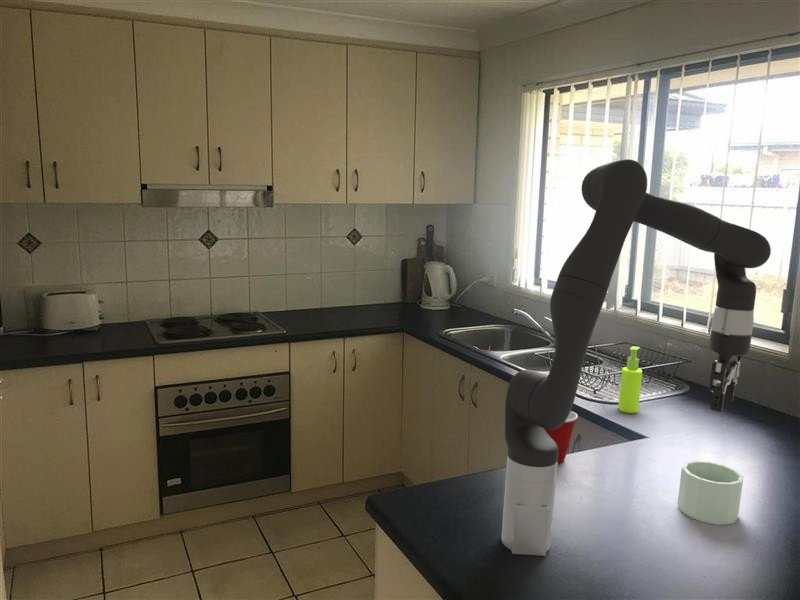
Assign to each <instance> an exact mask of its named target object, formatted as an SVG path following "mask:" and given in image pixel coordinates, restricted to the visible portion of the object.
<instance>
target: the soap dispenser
mask: <svg viewBox="0 0 800 600" xmlns="http://www.w3.org/2000/svg"><path fill="white" fill-rule="evenodd" d="M640 349H641V347H640V346H635V345H633V346H631V347H630V348H629V351H630V356H629V357H627V358H626V359H627V362H626V366H624V367H622V369H621V377H620V379H621V380H620V389H619V396H618V397H619V398H618V408H617V409H618V410H619V411H620V412H622V413H626V414H637V413H639V408H640V407H639V406H640V396H641V389H642V388H641V386H642V379H643V369H641V368H639V363H640V359H639V358H638V357H637V356H638V354H637V353H638V351H639V350H640Z"/></svg>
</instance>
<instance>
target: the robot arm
mask: <svg viewBox="0 0 800 600" xmlns="http://www.w3.org/2000/svg"><path fill="white" fill-rule="evenodd" d="M647 189H648V175H647V172H646V170H645V168H644V166H643V165H642V164H641V163H639V162H638V161H637V160H634V159H630V158H629V159H628V158H627V159H619V160H615V161H611V162H608V163H605V164H602V165H599V166H597V167H595V168H593V169H592V170H590V171H588V173H587V174H586V175H585V176H584V179H582V183H581V195H582V198H583V200H584V202H585V203H586V204H587V206H588V207H590V208H591V209H592V210H594V211H595V213H594V216H593V219H592V221H591V222H590V226H589V227H588V229H587V230H586V232H585V234H584V235H583V237H582V238H581V239H580V240H579V242H578V243H577V244H576V246H575V247H574V249H573V250H572V252H571V253H570V254H569V255H568V257H567V258H566V260H565V262H564V263H563V264H562V267H561V269H560V270H559V273H558V275H557V279H556V282H555V284H554V287H553V290H552V293H551V297H550V301H549V308H550V309H549V310H550V317H551V323H552V329H553V333H554V343H555V345H554V346H555V347H554V355H553V359H552V364H551V367H550V369H549V372H548V374H545V373H542V372H539V371H536V370H532V369H523V370H519V371H518V372H517V373H515V375H513V377H511V380H510V381H509V383H508V385H507V390H506V395H505V401H504V402H505V405H504V407H505V409H504V441H505V443H506V447H507V454H506V455H507V456H506V457H507V459H506V468H505V469H506V470H505V471H506V472H505V484H504V497H503V499H504V500H503V509H502V510H503V512H502V527H501V536H500V537H501V538H500V540H501V543H502V545H504V547H506V548H507V549H509V550H510V551H511V554H512V555H525V556H540V557H541V556H542V557H546V556H547V552H548V551H549V550H550V548H551V545H552V544H551V543H552V531H553V520H554V509H555V508H554V506H555V496H556V484H557V474H558V471H557V470H558V464H559V463H558V446H557V444H556V442H555V441H554V440H553V439H552V438H551V437H550V436H549V435H548V434H547V433H546V431H545V430H544V428H545V429H549V430H554V429H557V428H559V427H560V426H562V424H563V423H564V422H565V421H566V419H567V417H568V416H569V414H570V411H572V409H573V405H574V402H575V398H576V395H577V391H578V387H579V384H580V383H579V382H580V380H581V379H580V377H581V374H582V369H583V366H584V361H585V358H586V356H587V355H586V354H587V352H588V349H589V346H590V345H589V344H590V342H591V338H592V335H593V332H594V330H595V326H596V323H597V321H598V319H599V316H600V313H601V311H602V309H603V305H604V303H605V300H606V296H607V294H608V290H609V288H610V284H611V281H612V277H613V275H614V271H615V270H616V267H617V264H618V262H619V259H620V256H621V252H622V250H623V247H624V244H625V241H626V239H627V237H628V234H629V231H630V230H631V228H632V225H633V224H634V222H635V223H637V224H641V225H644V226H646V227H649V228H651V229H653V230H657V231H659V232H661V233H664V234H665V235H668V236H670V237H672V238H675V239H677V240H679V241H681V242H683V243H685V244H687V245H689V246H692V247H694V248H696V249H697V250H701V251H703V252H707V253H712V254H713V255H714V257H713V259H714V268H715V276H716V281H717V282H716V283H717V286H718V287H717V291H716V292H717V293H716V299H715V306H714V311H713V315H712V320H711V329H710V336H709V345H708V349H709V351H711V352H714V353H717V354H718V356H717V360H713V361H712V363H711V371H710V378H709V384H708V385H709V386H708V391H710V392H711V400H710V405H709V406H710V407H709V408H710V409H709V410H712V411H715V412H720V413H721V412H722V411H723V409H724V402H726V403H732V402H734V396H735V390H736V389H735V388H736V385H737V384H738V381H739V379H740V376H741V375H740V374H741V368H742V367H741V366H742V359H743V357H744V356H745V357H746V356H747V355H749V354H750V350H751V344H752V336H753V328H754V320H755V319H754V316H755V315H754V312H755V311H754V310H755V305H756V303H755V302H756V295H757V285H756V283H755V282H754V281H752V280H751V279H749V278H748V277H747V275H746V274H747V273H746V269H756V268H759V267H761V266H763V265H764V264H766V262H768V260H769V259H770V256H771V253H772V249H771V245H770V244H771V243H770V242H769V241H768V239H767V238H766V237H765V236H764V235H762V234H761V233H759V232H756V231H755V230H752V229H750V228H747V227H743V226H741V225H738V224H735V223H731V222H729V221H726V220H723V219H721V218H720V217H719V216H716V215H714V214H712V213H710V212H708V211H706V210H704V209H702V208H700V207H697V206H695V205H692V204H688V203H685V202H682V201H678V200H673V199H668V198H664V197H661V196H657V195H654V194H652V193H648V192H647V191H648V190H647ZM717 384H719V386H718V385H717Z"/></svg>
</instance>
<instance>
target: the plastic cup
mask: <svg viewBox="0 0 800 600" xmlns="http://www.w3.org/2000/svg"><path fill="white" fill-rule="evenodd" d="M578 415H579V414H577V413H576V412H574V411H572V410H571V411H570V414H569V416H568V417H567V419H566V421H565V422H564V423H563V424H562V426H560V427H559V428H557V429H554V430H549V429H545V428H544V430H545V431H546V433H547V434H548V435H549V436H550V437H551V438H552V439H553V440H554V441H555V442H556V444H557V446H558V463H557V464H561V463H564V461H565V459H566V456H567V454H568V453H567V452H568V449H569V447H570V442H571V439H572V434H573V432H574V428H575V425H576V421H577V419H578V417H579V416H578Z"/></svg>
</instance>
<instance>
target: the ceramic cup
mask: <svg viewBox="0 0 800 600" xmlns="http://www.w3.org/2000/svg"><path fill="white" fill-rule="evenodd" d="M680 471H681V472H680V478H679V487H678V489H679V490H678V497H677V507H678V509H679V510H681V511H682V512H683V513H682V512H681V511H680V512H681V513H682V514H683V515H685V516H687V517H688V516H689V518H690V517H691V519H692V518H693V520H695V519H696V520H695V521H697V520H698V522H701V523H704V522H705V524H708V523H709V524H708V525H714V526H715V525H716V526H729V525H732V523H733V524H735V523H736V522H738V517H739V515H740V506H741V499H742V491H743V484H744V478H745V477H744V476H743V474H741V473H740V472H739V471H738V470H736V469H734V468H732V467H731V466H727V465H725V464H722V463H718V462H713V461H709V460H707V461H706V460H690V461H686V462H684V463H683V465H682V466H681V470H680Z"/></svg>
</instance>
